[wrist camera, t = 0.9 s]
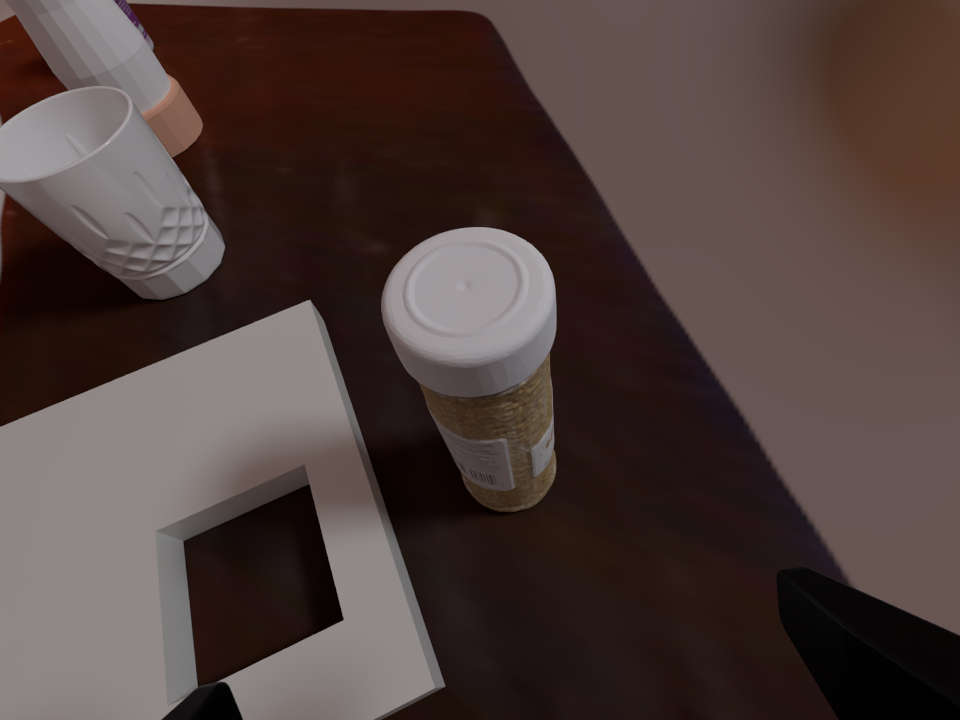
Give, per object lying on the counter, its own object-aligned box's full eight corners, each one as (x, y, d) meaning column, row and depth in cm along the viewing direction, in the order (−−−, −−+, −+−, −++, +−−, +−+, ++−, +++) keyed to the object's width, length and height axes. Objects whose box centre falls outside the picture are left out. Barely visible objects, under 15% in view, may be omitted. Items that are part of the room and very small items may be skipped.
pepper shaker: (102, 150, 43) (-171, -164, 27) (171, 103, 46) (-40, -209, 29) (149, 177, 40) (-125, -157, 24) (220, 125, 43) (15, -208, 27)
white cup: (183, 321, 32) (47, 194, 23) (96, 292, 34) (-55, 167, 26) (256, 233, 35) (162, 94, 27) (173, 211, 38) (63, 78, 29)
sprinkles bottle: (576, 474, 24) (595, 291, 12) (497, 535, 23) (438, 398, 11) (516, 405, 26) (485, 195, 14) (442, 458, 25) (345, 277, 13)
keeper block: (445, 686, 20) (435, 688, 18) (-84, 959, 18) (-151, 990, 16) (323, 320, 30) (309, 299, 29) (-19, 463, 28) (-56, 449, 26)
